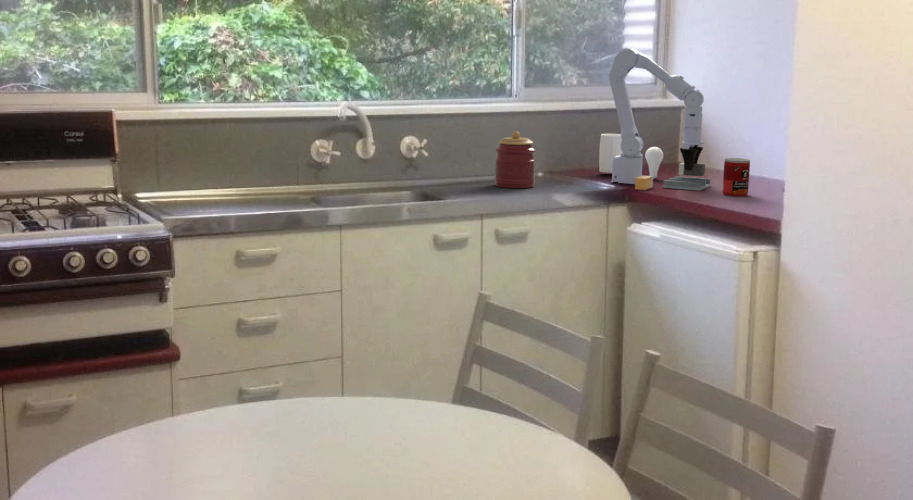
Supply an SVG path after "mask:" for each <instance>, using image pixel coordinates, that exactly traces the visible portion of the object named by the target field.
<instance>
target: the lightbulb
mask: <svg viewBox="0 0 913 500" xmlns="http://www.w3.org/2000/svg"><path fill="white" fill-rule="evenodd" d="M644 154H645V156H644V157H645V160H646V162H647V165H648V172H649V176H653V180H654V179H656V178H657V177H658V171H659V168H660V165H661V164H662V161H663V159H664V152H663V151H662V149H661V148H660V147H657V146H652V147H649V148H648V149H646V151H645V153H644Z"/></svg>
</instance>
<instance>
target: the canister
mask: <svg viewBox="0 0 913 500" xmlns="http://www.w3.org/2000/svg"><path fill="white" fill-rule="evenodd" d="M497 143H498V146H497V147H496V148H494V149H495V151H496V157H495V175H494V183H495V186H496V187H498V188H499V187H500V188H506V189H529V188H534V187H535V183H536V177H535V176H536V175H535V173H536V161H537V160H536V159H535V152H536V151H537V149H536V148H534V147H533V144H534V141H533V140H531V139H530V138H528V137H521V134H520V132H519V131H517V130H514V131H513V132H512V133H511V136H510V137H507V136H506V137H503V138H502V139H500V140H498V141H497Z"/></svg>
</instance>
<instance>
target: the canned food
mask: <svg viewBox="0 0 913 500" xmlns="http://www.w3.org/2000/svg"><path fill="white" fill-rule="evenodd" d="M723 162H724V163H723V178H722V195H724V196H727V195H729V196H728V197H747V196H748V193H749V184H750V182H749V181H750V171H751V170H750V169H751V159H748V158H741V157H739V158H738V157H729V158H728V157H727V158H724V161H723Z"/></svg>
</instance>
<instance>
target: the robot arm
mask: <svg viewBox="0 0 913 500" xmlns="http://www.w3.org/2000/svg"><path fill="white" fill-rule="evenodd" d="M634 68H636V69H642V70H646V71H647V72H649V73H650V74H651V75H653V76H654V77H656V78H657V79H659V80H660V81H661V82H662V83H664V86H665V90H666V91H668V92H669V93H670V94H672V95H673V96H674V97H675V98H677V99H678V100H680V101H683V103H684V105H685V106H684V108H685V109H684V113H683V114H684V117H683V130H682V131H683V135H682V141H681V143H682V145H681V146H682V147H680V148H679V151H680V153H681V156H682V159H683V160H682V161H683V163H684V165H685V170H692V169H693V164H698V161H699V158H700V155H701V153H702V152H703V149H704V148H703V146H701V145H705V141H702V129H703V128H702V125H703V113H702V112H703V106H702V105H703V103H704V100H705V98H704V95H703V93H702V92H701V91H700V90H699V89H696V86H695V85H691V84H690V83H688V82H687V81H685V80H684V79H685V78H684V76H682V75H678V74H673V75H671V74H670V73H669V72H667V71H666V70H665V69H664V68H662V67H661V65H659V64H657V63H656V62H655V61H654V60H653V59H652V58H650V57H649V56H647V55H646V54H644V53H642V52H639V51H638V50H637V49H636V48H632V47H629V48H628V47H626V48H622V49H620V51H619V52H618V53H617V54H616V56H614V59H613V63H612V66H611V68H610V72H609V75H608V78H609V79H608V80H609V84H610V87H611V92H612V97H613V101H614V106H615V109H616V113H617V117H618V118H617V119H618V121H619V122H618V123H619V126H620V127H619V128H620V134H621V138H622V142H621V150H622V152H623V153H621V156H615V157H614V159H613V167H612V173H611V183H613V182H618V183H617V184H628V185H629V184H630V185H635V178H637V177H640V176H643V174H642V173H643V161H644V160H643V159H644V157H643V156H644V154H642V152H641V151H642V150H643V149H644V140H643V138H642V137H641V136H640V134H639V130H638V129H637V126H636V123H635V119H634V114H633V109H632V105H631V101H630V97H629V92H628V88H627V87H628V86H627V84H626V78H627V76H628V75H629V73H630V72H631V70H633V69H634Z"/></svg>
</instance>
